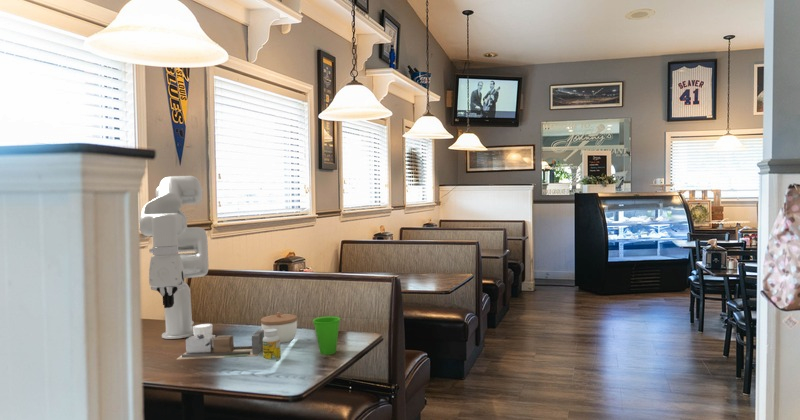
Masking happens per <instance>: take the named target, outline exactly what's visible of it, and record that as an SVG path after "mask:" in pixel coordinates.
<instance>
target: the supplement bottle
mask: <svg viewBox="0 0 800 420" xmlns="http://www.w3.org/2000/svg"><path fill="white" fill-rule="evenodd" d="M264 335H265V337H264V338H263V350H262V354H263V359H266V360H267V359H268V360H272V359H276V362H279V361H280V360H281V358H282V353H281V343H280V337H279V336H278V335H277V329H267V330H265V331H264Z"/></svg>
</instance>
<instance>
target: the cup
mask: <svg viewBox="0 0 800 420" xmlns="http://www.w3.org/2000/svg"><path fill="white" fill-rule="evenodd" d="M340 320H341V317H339V316H333V315H332V316H322V317H321V316H320V317H316V318H313V319H312V323H313V325H314V329H315V333H316V335H315V336H316V339H317V344H318V350H319V353H320V354H321V355H324V356H328V355H333V354H335V353H336V352H337V345H338V336H339V327H340Z"/></svg>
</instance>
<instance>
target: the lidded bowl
mask: <svg viewBox="0 0 800 420" xmlns="http://www.w3.org/2000/svg"><path fill="white" fill-rule="evenodd" d="M260 325H261V330H264V331H265V330H267V329H277V335H278V336H279V337H280V344H283V343H287V342H290V341H292V340H293V339H294V337H295V336H296V334H297V330H298V316H297V315H296V314H292V313H281V311H277V312H276V314H271V315H267V316H266V315H265V316H263V317H262V318H260ZM264 337H265V335H264Z"/></svg>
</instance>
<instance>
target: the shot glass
mask: <svg viewBox="0 0 800 420" xmlns="http://www.w3.org/2000/svg"><path fill="white" fill-rule="evenodd" d="M192 329H193V333H194V335H193V336H197V335H199V334H204V335H213V323H199V324H195V325H192Z"/></svg>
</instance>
